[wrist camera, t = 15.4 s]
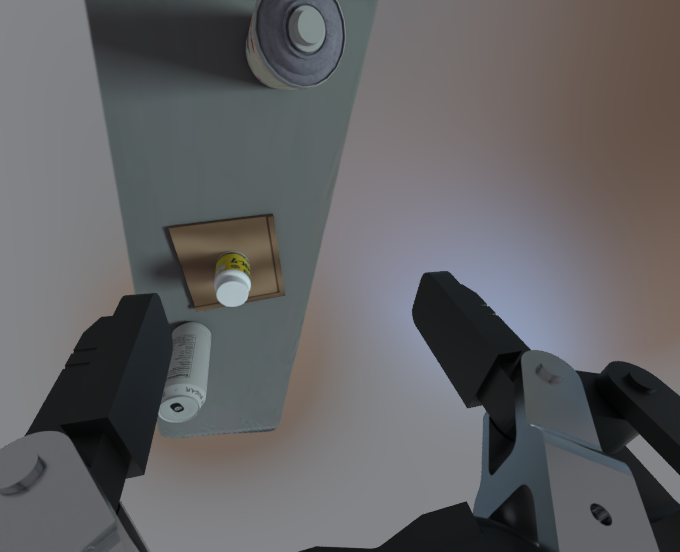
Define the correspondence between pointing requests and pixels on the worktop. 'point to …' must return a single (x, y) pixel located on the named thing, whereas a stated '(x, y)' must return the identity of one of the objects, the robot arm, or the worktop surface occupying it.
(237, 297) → the supplement bottle
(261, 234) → the walnut board
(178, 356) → the energy drink can
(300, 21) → the aerosol can
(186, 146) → the worktop surface
